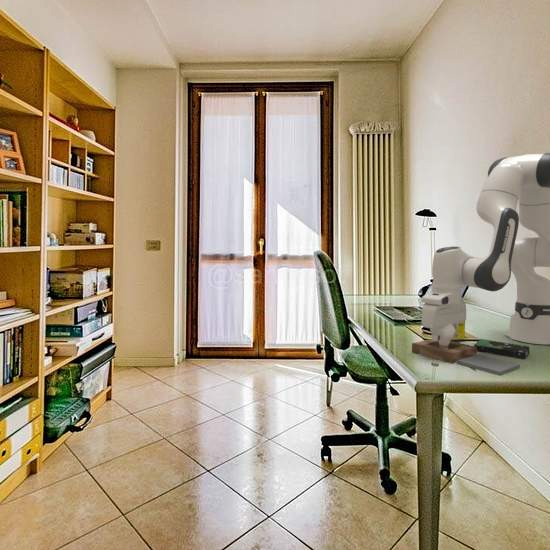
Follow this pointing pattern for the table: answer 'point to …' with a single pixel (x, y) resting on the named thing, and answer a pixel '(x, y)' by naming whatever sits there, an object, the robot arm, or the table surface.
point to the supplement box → (460, 333)
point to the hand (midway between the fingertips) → (444, 338)
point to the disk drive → (502, 349)
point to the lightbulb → (446, 335)
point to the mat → (488, 364)
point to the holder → (444, 350)
